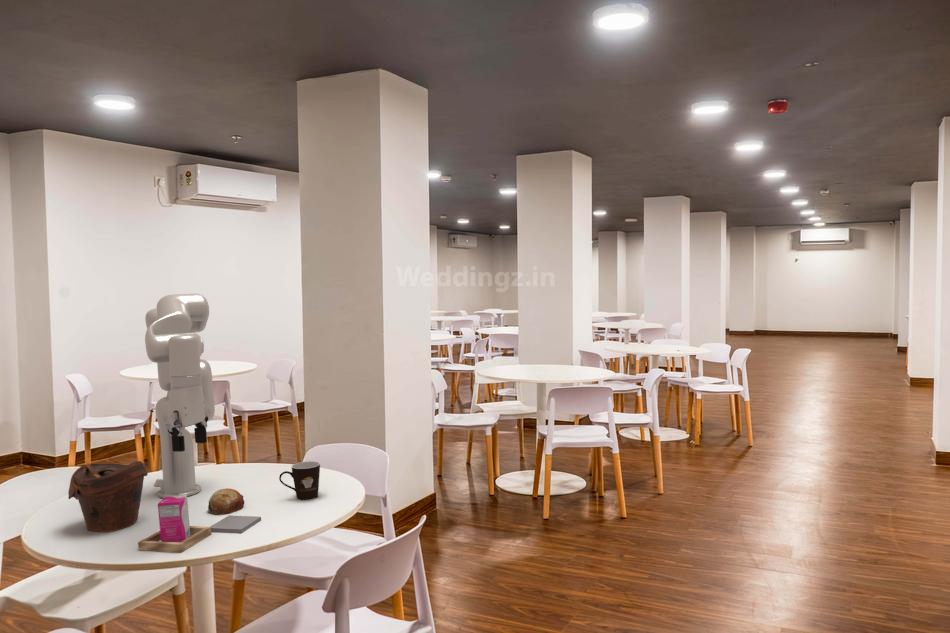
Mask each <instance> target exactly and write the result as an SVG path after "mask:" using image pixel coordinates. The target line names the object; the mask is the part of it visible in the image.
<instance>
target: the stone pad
mask: <svg viewBox="0 0 950 633" xmlns="http://www.w3.org/2000/svg"><path fill="white" fill-rule="evenodd" d="M261 521H262V516H254V515H253V516H252V515H250V516H249V515H227V516H225V517H224V518H222V519H220V520H219V521H217V522H216V523H214V524H212V525H210V526H209V527H211V533H230V534H242V533H244V532H245V531H247V530H248V529H250V528H252V527H253V526H255V525H256V524H258V523H259V522H261Z"/></svg>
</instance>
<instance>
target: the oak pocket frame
mask: <svg viewBox="0 0 950 633" xmlns="http://www.w3.org/2000/svg"><path fill="white" fill-rule="evenodd" d="M190 535H191V536H190V537H189V538H187V539H185V540H184V541H182V542H180V543H179V542H161V536H160V530H158V531H156V532H154V533H153V534H151V535H149V536H147V537H146V538H143V539H142V540H139V541H138V542H137V548H138V551H147V552H148V551H151V552H166V553H168V552H169V553H183V552H185V551H187V550H188V549H189V548H191V547H193V546H195V545H196V544H198V543H200V542H201V541H203V540H204V539H206V538H209V537H210V536H211V535H212V532H211V527H210V526H200V525H199V526H197V525H196V526H195V525H190Z"/></svg>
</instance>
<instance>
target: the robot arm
mask: <svg viewBox="0 0 950 633" xmlns="http://www.w3.org/2000/svg"><path fill="white" fill-rule="evenodd" d="M209 315H210V306H209V302H208V300H207V298H206V297H205V296H204V295H203V294H201V293H181V294H180V293H177V294H176V293H175V294H167V295H165V296H163V297H161V298H160V299H159V300H158V301H157V303H156V308H153V309H149V310H148V311H147V312H146V314H145V317H144V319H145V325H146V331H145V336H144V343H145V351H146V355H147V358H148V359H149V360H150V361H151V362H152V363H157V364H156V366H157V378H158V383H159V384H158V385H159V388H160V389H161V390H163V391H166V392H168V395H167V396H163V397H161V398H160V399H159V400H157V401H156V403H155V407H154V408H155V415H156V419H157V420H156V421H157V424H158V429H159V430H158V431H159V438H160V450H161V452H160V454H161V468H162V479H161V478H158V479H156V480H155V482H154V483H153V487H155V488H159V487H160V490H159V491H158V497H159V498H162V499H164V498H165V497H168V496H180V495H187V497H189V496H193V495H195V494H198V493H199V492H200V491H202V486H201V485H200V484H198V483H196V481H197V480H196V468H195V451H194V441H195V443H196V444H206V443H207V442H208V437H207V434H208V433H207V427H208V422H210V421H212V420H213V418H214V416H215V398H214V396H215V395H214V382H213V372H212V368H211V364H210V363H209V362H208V361H207V360H206V359H202V358H201V357H202V354H203V353H204V351H205V342H204V340H203V338H201V336H200V334H198V333H200V332H203V331H204V330H205V329H206V326H207V323H208V319H209ZM192 426H195V427H194V430H193V431H194V439H193V435H192V433H191V432H190V431H189V430H188V429H187V428H188V427H192Z"/></svg>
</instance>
